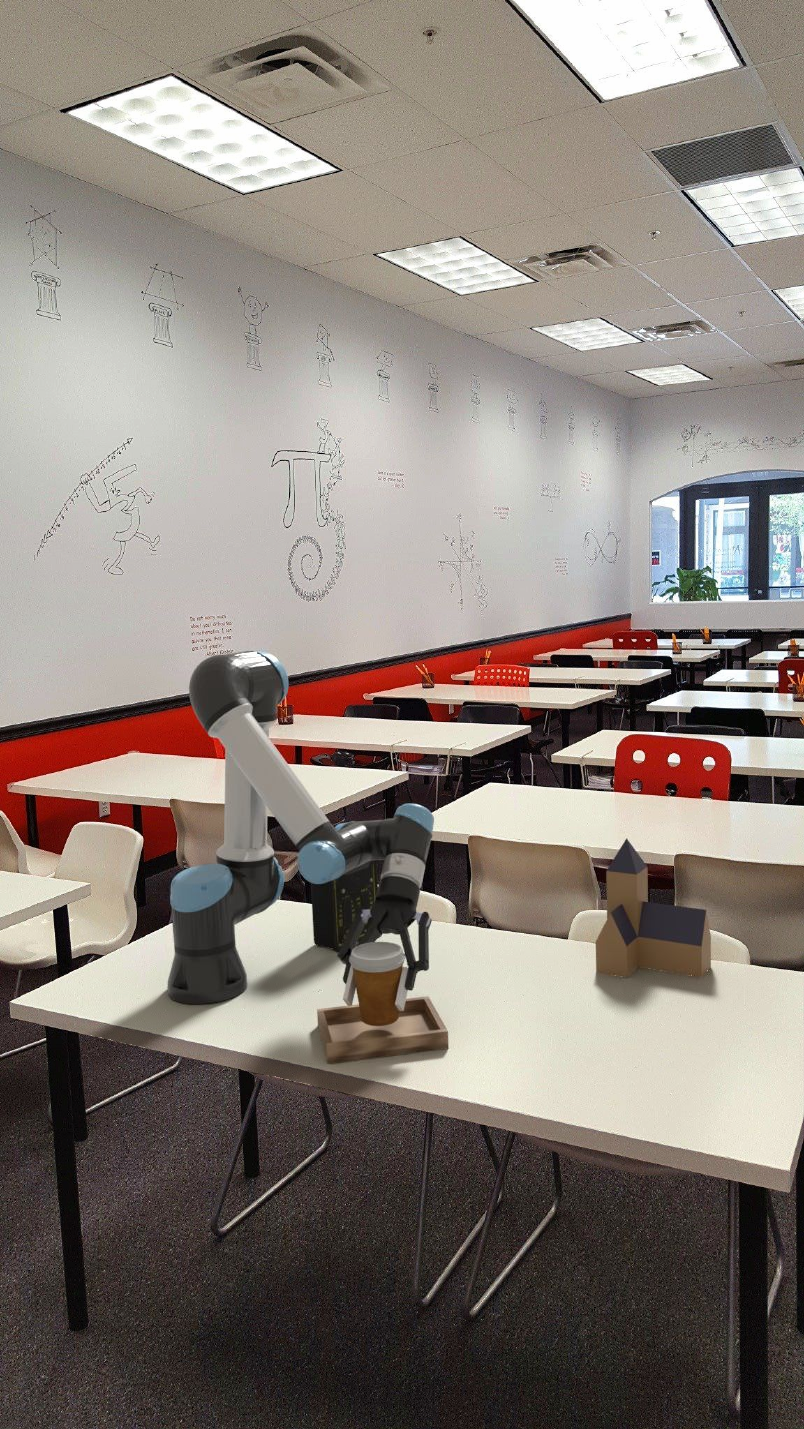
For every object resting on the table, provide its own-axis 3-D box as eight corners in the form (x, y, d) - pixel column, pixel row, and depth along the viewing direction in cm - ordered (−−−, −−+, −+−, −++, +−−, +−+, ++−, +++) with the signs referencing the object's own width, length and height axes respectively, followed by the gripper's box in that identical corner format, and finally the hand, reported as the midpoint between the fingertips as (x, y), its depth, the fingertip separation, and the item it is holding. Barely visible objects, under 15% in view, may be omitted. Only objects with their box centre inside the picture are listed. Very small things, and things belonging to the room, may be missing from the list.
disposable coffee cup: (419, 1016, 170) (416, 948, 169) (380, 1035, 164) (377, 965, 162) (379, 1002, 177) (376, 936, 175) (340, 1020, 170) (336, 952, 169)
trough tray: (327, 1063, 161) (326, 1046, 161) (317, 1025, 176) (317, 1009, 176) (448, 1048, 165) (447, 1031, 165) (429, 1012, 180) (428, 996, 179)
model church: (618, 952, 206) (617, 833, 203) (710, 967, 196) (710, 842, 193) (596, 972, 195) (593, 847, 192) (692, 989, 185) (691, 857, 182)
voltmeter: (338, 954, 211) (333, 838, 208) (308, 946, 216) (302, 833, 213) (384, 932, 223) (379, 822, 220) (354, 926, 228) (349, 818, 225)
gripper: (338, 871, 181) (306, 990, 167) (452, 876, 174) (428, 1001, 160) (351, 891, 186) (321, 1008, 173) (462, 897, 179) (439, 1019, 166)
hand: (373, 1004), depth 167 cm, fingers closed on disposable coffee cup, 9 cm apart
